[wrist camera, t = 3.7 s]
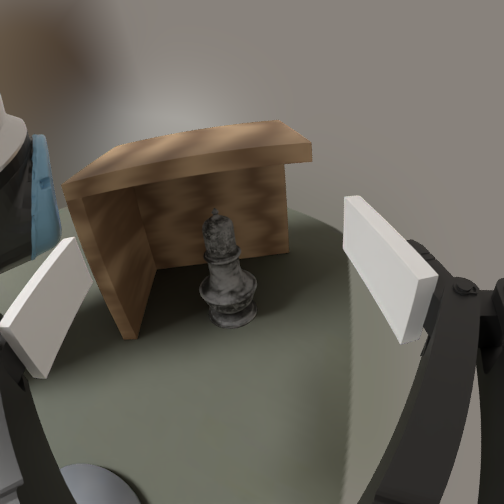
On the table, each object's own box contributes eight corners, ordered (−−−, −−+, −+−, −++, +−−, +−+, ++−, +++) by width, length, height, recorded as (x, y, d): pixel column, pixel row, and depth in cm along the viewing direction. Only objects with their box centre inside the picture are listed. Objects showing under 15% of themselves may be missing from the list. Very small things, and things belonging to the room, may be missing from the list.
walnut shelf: (124, 339, 30) (61, 184, 21) (148, 264, 43) (116, 146, 33) (312, 319, 30) (311, 142, 21) (287, 246, 43) (278, 119, 34)
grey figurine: (271, 309, 32) (262, 204, 26) (228, 339, 29) (205, 230, 23) (236, 287, 36) (221, 191, 30) (195, 311, 33) (169, 212, 27)
